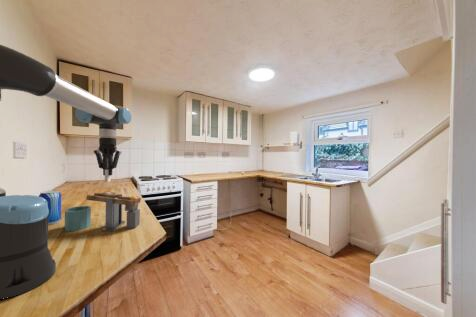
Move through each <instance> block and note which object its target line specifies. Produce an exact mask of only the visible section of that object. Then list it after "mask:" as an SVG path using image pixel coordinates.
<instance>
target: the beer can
mask: <svg viewBox="0 0 476 317" xmlns="http://www.w3.org/2000/svg"><path fill="white" fill-rule="evenodd" d="M38 196H39V197H42V198H44V199H45V200H46V201H47V203H48V209H49V214H48V226H51V225H56V224H57V223H60V221H61V220H62V194H61V193H60V191H59V190H46V191H45V190H43V191H41V192H40V194H39V195H38Z"/></svg>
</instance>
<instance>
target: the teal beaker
mask: <svg viewBox="0 0 476 317" xmlns="http://www.w3.org/2000/svg"><path fill="white" fill-rule="evenodd" d="M91 216H92V206H89V205H81V206H79V205H78V206H73V207H69V208H66V209H65V210H64V231H66V232H75V231H81V230H85V229H87V228H89V227H91V225H92V224H91V223H92V222H91V221H92V219H91V218H92V217H91Z"/></svg>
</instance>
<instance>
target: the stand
mask: <svg viewBox="0 0 476 317" xmlns="http://www.w3.org/2000/svg"><path fill="white" fill-rule="evenodd" d="M115 195H117V196H123V194H119V193H118V194H116V193H115ZM125 223H126V221H125V220H123V205H122V204H115V203H114V198H106V202H105V223H104V224H105V227H103V228H102V229H101V232H114V231H115V230H116V229H118V228H119V227H121V226H122V225H123V224H125Z"/></svg>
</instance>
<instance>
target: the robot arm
mask: <svg viewBox="0 0 476 317" xmlns="http://www.w3.org/2000/svg"><path fill="white" fill-rule="evenodd" d="M2 90H8V91H9V90H10V91H17V92H18V91H20V92H24V93H28V94H31V95H33V96H36V97H48V98H50V99H52V100H55V101H58V102H59V103H62V104H64V105H67V106H69V107H73V108H75V118H76V119H77V120H78V121H79V122H82V123H86V124H91V125H93V124H94V125H98V137H99V138H98V139H99V140H98V143H99V144H98V145H99V147H98V148H97V149H95V150H93V153H94V155H95V157H96V160H97V165H98V168H99V169H102V175H103V176H104V183H106V182H107V183H108V182H111V180H112V178H111V176H112V175H113V169H116V168H117V166H118V162H119V158H120V156H121V154H122V151H121V150H120V149H118V148H117V125H127V124H129V123H130V122H132V113H131V111H130V110H129V108H127V107H119V106H116V105H113V104H112V103H110V102H108V101H106V100H104V99H102V98H100V97H99V96H97V95H95V94H93V93H91V92H89V91H87V90H85V89H83V88H82V87H81V86H78V85H76V84H75V83H72V82H71V81H69V80H67V79H65V78H63V77H61V76H59V75H57V73H56V71H55V70H54V69H53V68H51V67H50V66H48V65H46V64H44V63H42V62H40V61H39V60H37V59H35V58H32V57H31V56H28V55H26V54H25V53H23V52H20V51H17V50H15V49H14V48H10V47H8V46H5V45H2V44H0V102H1V101H2ZM48 214H49V209H48V203H47V201H46V200H45V199H44V198H42V197H39V195H32V194H30V195H29V194H23V195H20V194H14V195H13V194H12V195H7V194H6V190H5V189H4V188H2V187H0V299H3V298H7V297H11V298H13V297H12V296H14V297H16V295H17V296H19V295H22V294H24V293H27V292H29V291H31V290H33V289H35V288H37V287H39V286H40V285H42V284H45V283H46V282H47V281H49V280H50V279H51V278H52V277H53V276H54V275H55V273H56V270H57V267H56V266H57V265H56V261H55V260H54V259H53V257H52V254H51V251H50V249H49V245H48V244H49V243H48V242H49V241H48V239H49V225H48ZM7 299H8V298H7Z"/></svg>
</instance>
